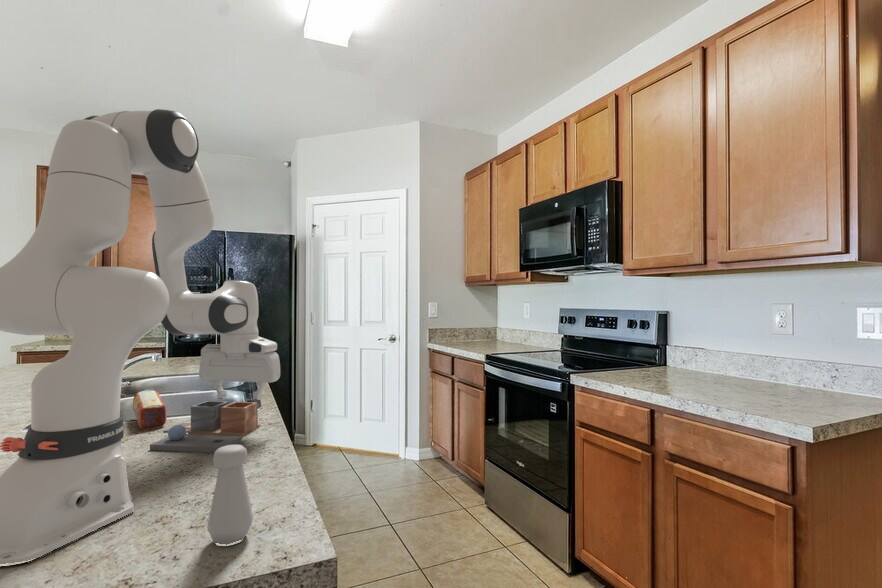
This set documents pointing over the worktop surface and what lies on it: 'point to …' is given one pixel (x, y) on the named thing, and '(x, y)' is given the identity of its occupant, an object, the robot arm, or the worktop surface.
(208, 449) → the grey flat slab
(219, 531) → the salt shaker
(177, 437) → the ball blue
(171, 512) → the worktop surface
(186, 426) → the card
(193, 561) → the worktop surface
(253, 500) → the worktop surface
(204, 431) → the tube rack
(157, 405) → the snack package
